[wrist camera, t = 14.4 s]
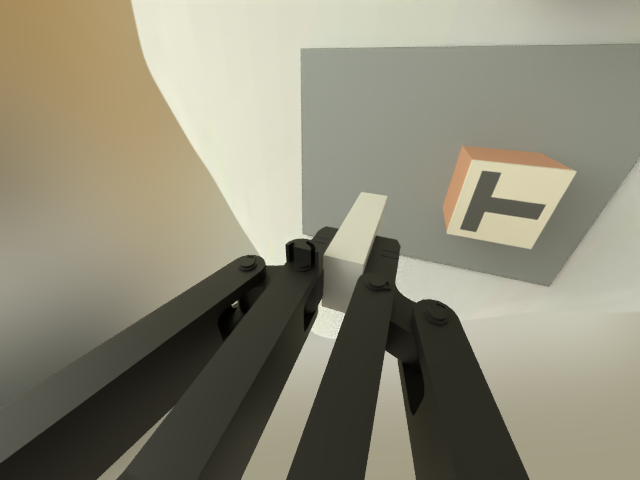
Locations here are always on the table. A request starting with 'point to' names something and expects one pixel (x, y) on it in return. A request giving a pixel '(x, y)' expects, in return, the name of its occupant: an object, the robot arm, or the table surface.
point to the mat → (465, 138)
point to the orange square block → (503, 195)
